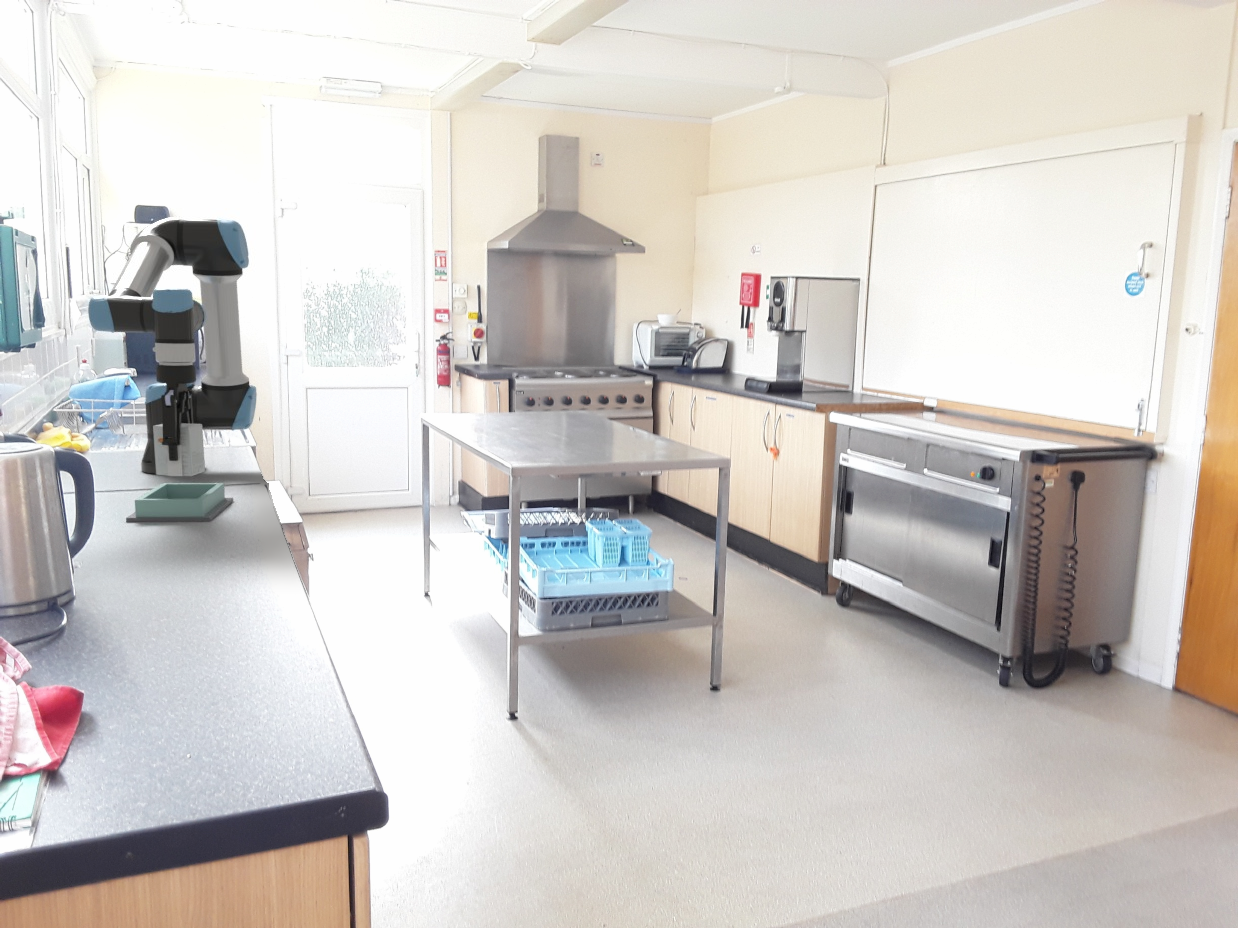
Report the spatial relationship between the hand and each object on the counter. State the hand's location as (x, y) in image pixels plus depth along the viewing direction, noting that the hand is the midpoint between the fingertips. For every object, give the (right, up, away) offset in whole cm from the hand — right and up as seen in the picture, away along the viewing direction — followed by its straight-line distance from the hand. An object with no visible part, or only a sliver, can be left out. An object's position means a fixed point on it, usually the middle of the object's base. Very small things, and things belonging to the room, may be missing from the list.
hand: (180, 472), depth 200 cm
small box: (0, 0, 0) cm, 0 cm away
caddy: (0, -8, +1) cm, 8 cm away
